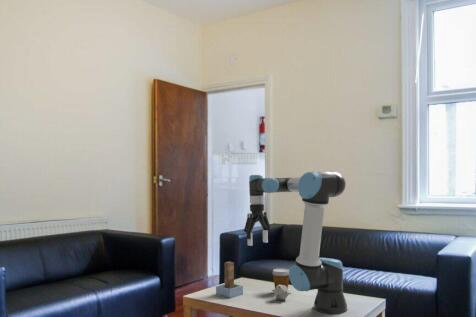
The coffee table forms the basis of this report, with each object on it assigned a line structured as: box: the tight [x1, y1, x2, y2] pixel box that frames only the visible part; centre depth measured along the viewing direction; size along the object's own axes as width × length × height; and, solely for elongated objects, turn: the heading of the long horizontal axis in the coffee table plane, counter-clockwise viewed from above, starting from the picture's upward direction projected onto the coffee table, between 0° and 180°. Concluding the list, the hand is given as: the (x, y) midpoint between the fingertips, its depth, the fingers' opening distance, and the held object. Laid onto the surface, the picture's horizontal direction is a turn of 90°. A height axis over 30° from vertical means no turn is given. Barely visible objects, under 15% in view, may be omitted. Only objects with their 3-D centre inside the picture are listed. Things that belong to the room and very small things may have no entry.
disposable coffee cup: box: [272, 268, 290, 289], centre depth 238 cm, size 10×10×12 cm
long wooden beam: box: [223, 261, 235, 289], centre depth 235 cm, size 4×4×16 cm
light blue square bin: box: [215, 283, 244, 299], centre depth 235 cm, size 10×10×4 cm
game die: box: [271, 283, 292, 302], centre depth 224 cm, size 9×8×10 cm
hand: (257, 244), depth 238 cm, fingers open, 13 cm apart
